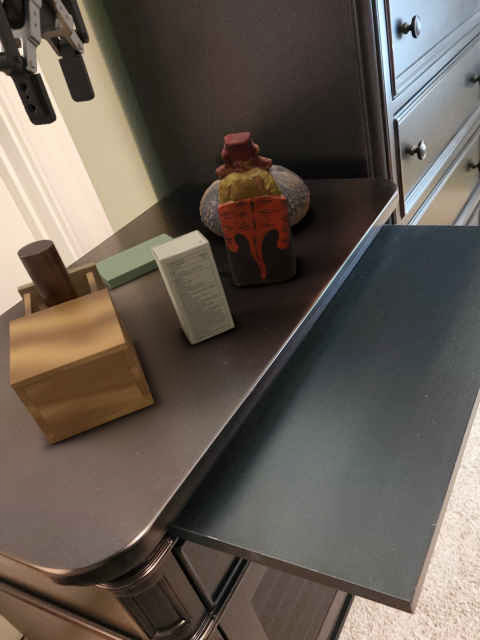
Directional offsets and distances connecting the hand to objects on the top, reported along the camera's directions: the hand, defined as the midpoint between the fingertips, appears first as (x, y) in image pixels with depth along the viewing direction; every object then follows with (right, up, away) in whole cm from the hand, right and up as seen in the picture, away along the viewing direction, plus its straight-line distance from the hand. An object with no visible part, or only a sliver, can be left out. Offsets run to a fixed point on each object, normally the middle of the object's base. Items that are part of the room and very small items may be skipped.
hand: (66, 111), depth 49 cm
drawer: (-8, -18, +23) cm, 30 cm away
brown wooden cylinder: (-7, -18, +20) cm, 28 cm away
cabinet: (-2, -26, +13) cm, 29 cm away
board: (-4, -5, +37) cm, 38 cm away
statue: (+16, -9, +28) cm, 34 cm away
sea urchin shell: (+15, +4, +42) cm, 45 cm away
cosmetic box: (+10, -18, +19) cm, 28 cm away
